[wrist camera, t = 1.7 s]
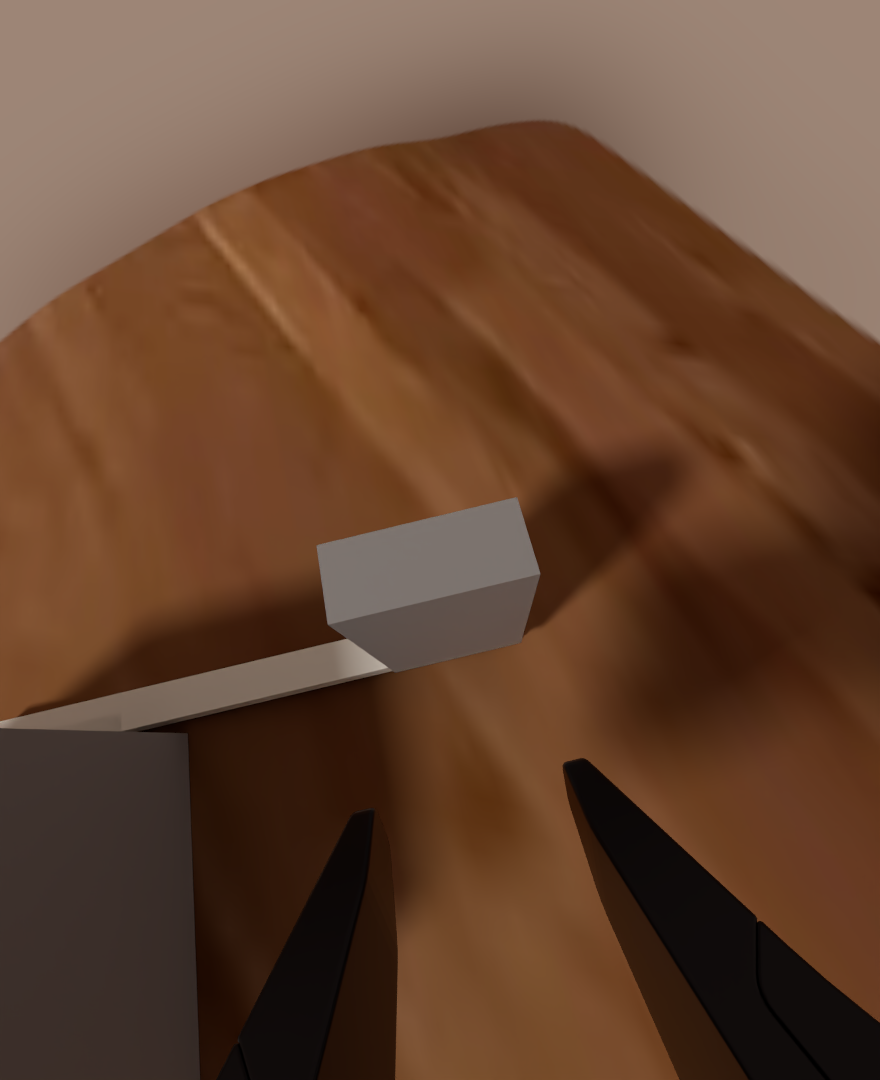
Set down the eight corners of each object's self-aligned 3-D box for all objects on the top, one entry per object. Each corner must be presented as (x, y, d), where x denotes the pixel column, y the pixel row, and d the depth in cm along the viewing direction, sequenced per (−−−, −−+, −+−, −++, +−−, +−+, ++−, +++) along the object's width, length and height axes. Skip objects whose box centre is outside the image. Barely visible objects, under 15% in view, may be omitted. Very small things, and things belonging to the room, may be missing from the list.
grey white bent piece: (574, 847, 19) (656, 953, 9) (-25, 988, 19) (-532, 1229, 9) (506, 600, 22) (517, 497, 13) (-1, 721, 22) (-356, 706, 13)
